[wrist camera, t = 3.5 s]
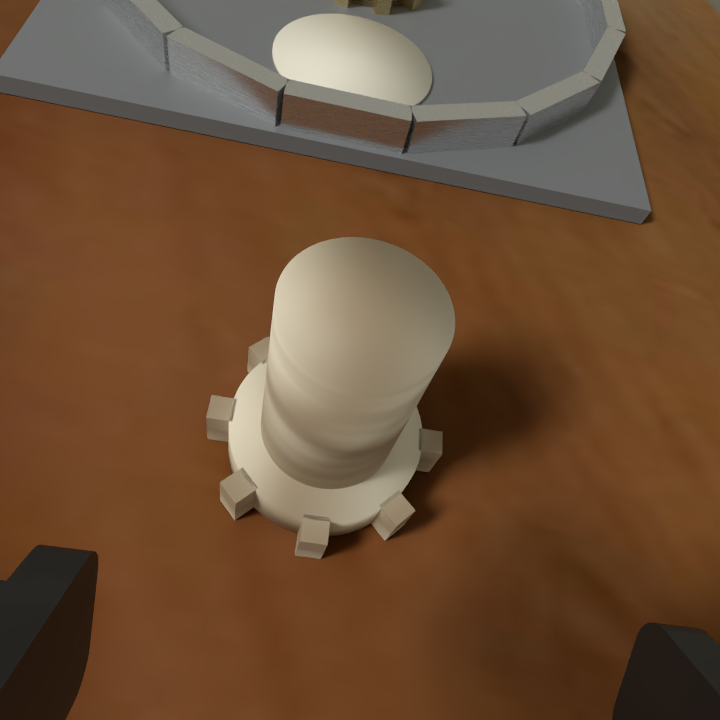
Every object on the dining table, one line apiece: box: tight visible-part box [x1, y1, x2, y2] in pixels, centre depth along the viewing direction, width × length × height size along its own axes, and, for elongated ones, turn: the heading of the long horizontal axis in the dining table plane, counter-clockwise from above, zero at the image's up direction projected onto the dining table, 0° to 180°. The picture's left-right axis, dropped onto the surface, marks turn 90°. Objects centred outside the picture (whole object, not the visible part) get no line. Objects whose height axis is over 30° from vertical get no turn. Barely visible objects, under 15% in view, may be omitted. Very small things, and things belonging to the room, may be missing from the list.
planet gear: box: [206, 237, 455, 559], centre depth 20 cm, size 8×8×9 cm
